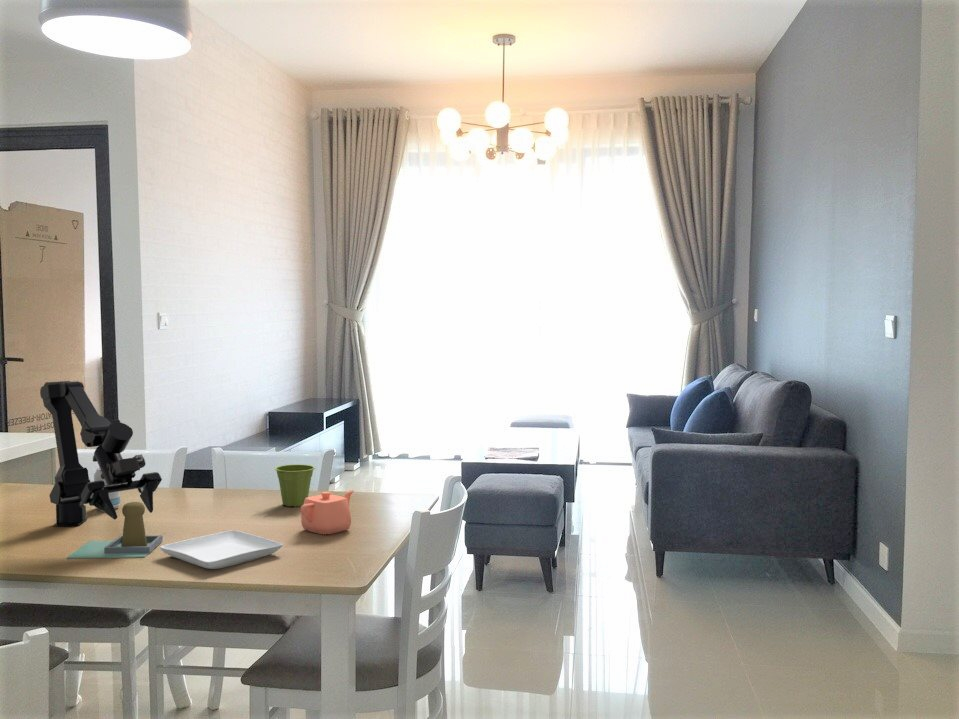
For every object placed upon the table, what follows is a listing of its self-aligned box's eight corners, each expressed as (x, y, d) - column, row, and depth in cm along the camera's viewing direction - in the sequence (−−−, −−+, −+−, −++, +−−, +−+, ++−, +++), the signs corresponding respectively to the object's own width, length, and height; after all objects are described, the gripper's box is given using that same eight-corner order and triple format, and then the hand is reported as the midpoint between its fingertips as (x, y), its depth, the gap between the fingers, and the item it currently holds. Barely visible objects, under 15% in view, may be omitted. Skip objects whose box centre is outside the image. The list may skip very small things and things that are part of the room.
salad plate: (233, 540, 220) (233, 527, 220) (285, 556, 207) (285, 542, 207) (157, 559, 204) (157, 545, 204) (208, 577, 190) (208, 562, 190)
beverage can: (107, 512, 247) (106, 471, 247) (89, 510, 250) (88, 469, 249) (125, 507, 254) (124, 467, 253) (107, 505, 256) (106, 465, 256)
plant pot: (321, 505, 257) (321, 468, 257) (283, 510, 251) (283, 472, 250) (305, 498, 267) (305, 462, 266) (269, 503, 260) (268, 466, 260)
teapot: (287, 532, 227) (287, 494, 226) (340, 520, 240) (340, 483, 240) (315, 540, 219) (314, 500, 219) (368, 527, 233) (368, 489, 232)
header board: (66, 558, 203) (66, 551, 203) (89, 542, 217) (89, 535, 217) (146, 557, 204) (146, 550, 204) (163, 541, 218) (163, 534, 218)
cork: (131, 551, 208) (130, 506, 207) (115, 547, 211) (114, 503, 210) (152, 545, 213) (151, 502, 212) (136, 542, 216) (136, 498, 215)
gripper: (85, 449, 206) (107, 502, 200) (157, 440, 220) (180, 489, 214) (71, 477, 212) (92, 529, 205) (142, 466, 226) (165, 515, 220)
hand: (134, 515), depth 211 cm, fingers open, 9 cm apart
